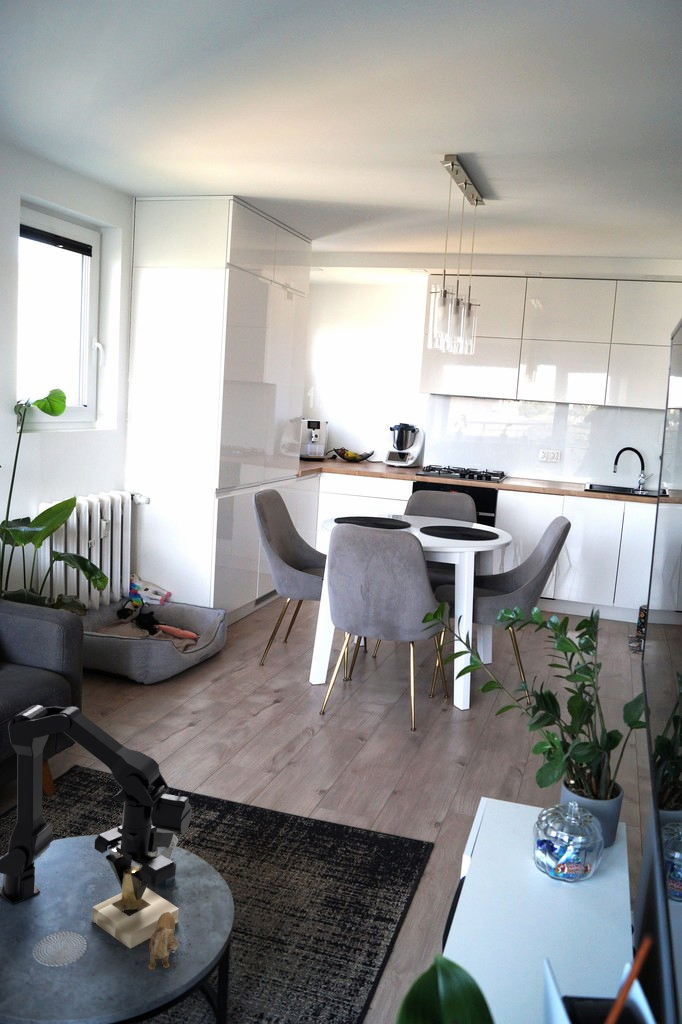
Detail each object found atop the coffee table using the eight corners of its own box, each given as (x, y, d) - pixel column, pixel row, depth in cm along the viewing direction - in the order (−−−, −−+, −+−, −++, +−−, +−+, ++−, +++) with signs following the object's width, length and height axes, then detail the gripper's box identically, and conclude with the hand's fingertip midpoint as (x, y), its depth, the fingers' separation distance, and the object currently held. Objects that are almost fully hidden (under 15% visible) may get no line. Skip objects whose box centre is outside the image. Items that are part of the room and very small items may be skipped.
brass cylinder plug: (116, 903, 174) (119, 871, 173) (132, 895, 177) (135, 863, 176) (129, 912, 171) (132, 879, 170) (145, 903, 174) (148, 871, 173)
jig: (91, 920, 172) (92, 906, 172) (139, 896, 182) (140, 883, 181) (130, 948, 165) (131, 934, 165) (177, 922, 175) (178, 908, 174)
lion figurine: (176, 981, 158) (180, 936, 156) (147, 982, 156) (150, 937, 155) (174, 931, 172) (178, 889, 171) (147, 932, 171) (151, 890, 169)
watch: (178, 873, 192) (182, 827, 190) (161, 892, 184) (165, 844, 182) (156, 867, 193) (159, 821, 191) (138, 886, 185) (141, 838, 184)
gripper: (199, 826, 172) (193, 898, 174) (139, 792, 183) (133, 860, 185) (156, 846, 163) (150, 921, 166) (95, 809, 174) (90, 880, 177)
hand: (131, 894), depth 174 cm, fingers closed on brass cylinder plug, 4 cm apart
